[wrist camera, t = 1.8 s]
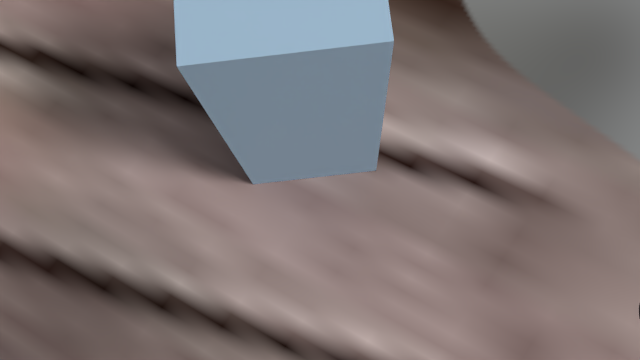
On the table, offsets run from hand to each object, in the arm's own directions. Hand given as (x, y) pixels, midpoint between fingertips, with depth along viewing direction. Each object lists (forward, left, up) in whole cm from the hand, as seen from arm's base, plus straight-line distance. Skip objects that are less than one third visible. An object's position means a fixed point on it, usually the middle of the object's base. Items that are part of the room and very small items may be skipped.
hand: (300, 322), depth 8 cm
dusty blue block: (+5, +6, -13) cm, 15 cm away
